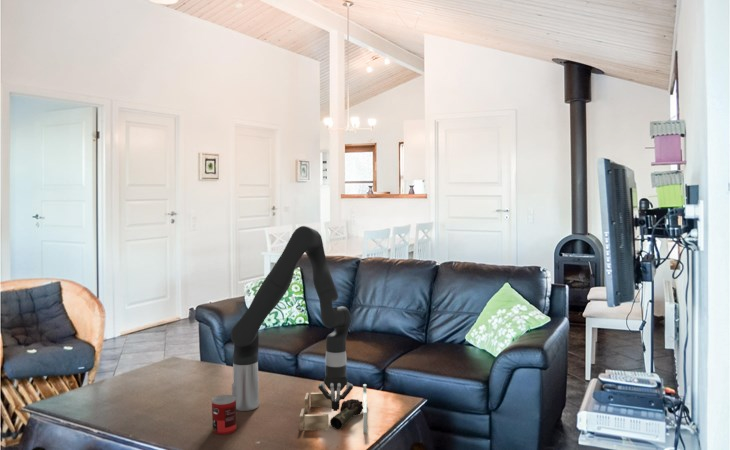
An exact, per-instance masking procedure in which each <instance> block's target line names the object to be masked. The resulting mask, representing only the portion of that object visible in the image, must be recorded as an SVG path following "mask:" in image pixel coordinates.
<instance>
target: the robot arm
mask: <svg viewBox="0 0 730 450" xmlns="http://www.w3.org/2000/svg"><path fill="white" fill-rule="evenodd" d="M304 254H306V256H307V257H308V260H309V262H310V265H311V267H312V268H311V269H312V281H313V286H314V289H315V293H317V296H318V300H319V308H320V319H321V323H322V325H324V327H325V328H327V329H329V330H331V329H334V330H333V331H332V332H331V333H329V334H328V335H327V336H326V340H325V341H326V342H325V343H326V344H325V346H326V347H325V348H326V349H325V358H324V359H325V362H324V363H325V369H324V372H325V376H324V378H323V381H322V382H320V383H318V386H317V387H318V390H319V391H320V393H323V394H324V396H325V397H326V398H327V399H330V400H331V401H332V407H331V410H333V412H338V410H340V408H341V404H340V402H341V400H345V398H346V397H347V396H348V395H349V394H350V392H351V391H352V390H353V389H354V385H353V383H350V382H348V377H347V361H348V359H347V352H346V351H347V336H348V333H349V330H350V325H351V320H352V316H351V312H350V310H349V308H347V307H346V306H342V305H341V306H336V307H333V303H335V302H336V301H337V300H338V299H339V293H338V290H337V288H336V286H335V282H334V280H333V277H332V274H331V271H330V269H329V265H328V261H327V257H326V253H325V248H324V242H323V239H322V235H321V233H319V231H317V230H316V229H314V228H312V227H310V226H306V225H301V226H299V227H297V228H296V229H295V230H294V231H293V233H292V234H291V236H290V238H289V239H288V241H287V244H286V245H285V248H284V249H283V251H282V252H281V254H280V256H279V258H278V259H277V260H276V262H275V264H274V265H273V267H272V269H270V271H269V273H268V274H267V275H266V277H265V278H264V280H263V281H262V283H261V285H260V286H259V289H258V290H257V291H256V294H255V296H254V297H253V299H252V302H251V303H250V305H249V306H248V308H247V310H246V311H245V312H244V314H243V315H242V316H241V318H239V320H238V321H236V323H235V324H234V325H233V327H232V328H231V331H230V338H231V339H230V340H231V341H232V343H233V354H232V369H233V370H232V371H233V373H232V374H233V375H232V376H233V377H232V378H233V379H232V380H233V381H232V384H231V395H233V396H235V397H236V411H238V412H239V411H241V412H246V411H247V412H248V411H253V410H256V409H257V408H259V405H260V399H259V398H260V397H259V396H260V395H259V394H260V393H259V392H260V391H259V390H260V389H259V351H260V350H259V348H260V347H259V342H260V341H259V336H260V335H259V330H260V328H261V326H262V324H263V323H264V321H265V320H266V319H267V318H268V316H269V315H270V313H272V311H273V310H274V309H275V308H276V306H277V305H278V304H279V303H280V302H281V300H282V299H283V297H284V296H285V294H286V293H287V291H288V290H289V288H290V286H291V285H292V282H293V278H294V272H295V269H296V266H297V264H298V263H299V261H300V259H301V258H302V257H303V256H304ZM326 387H327V389H328V390H329V391H330V392H331V395H330V394H329V391H328V390H327V389H326ZM344 388H345V390H344V391H343V392H342V393H341V391H342V390H343V389H344Z"/></svg>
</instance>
